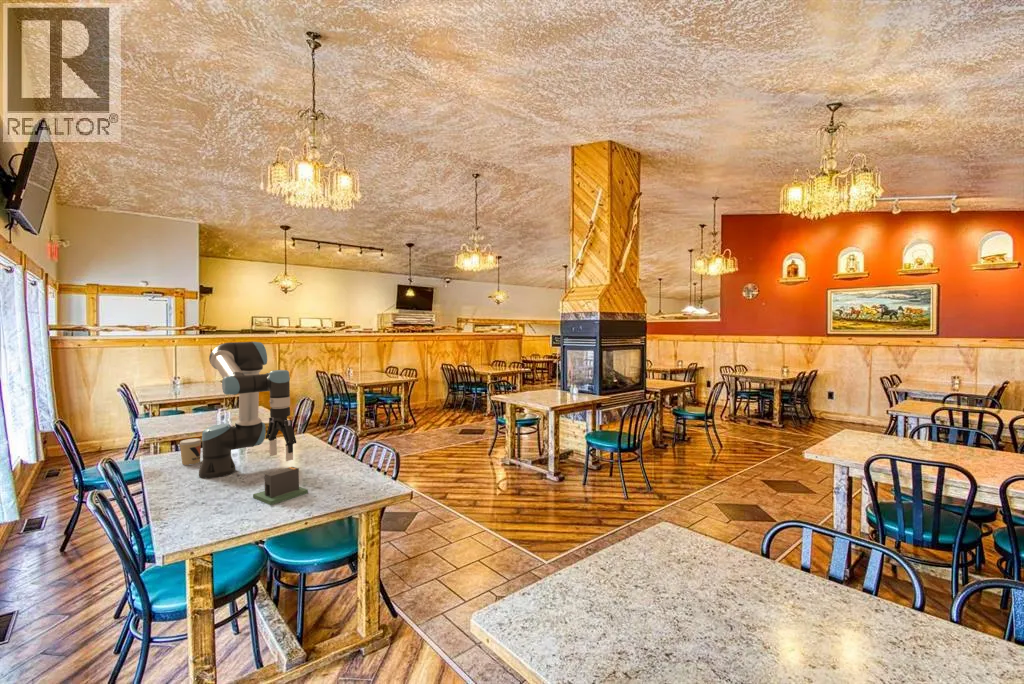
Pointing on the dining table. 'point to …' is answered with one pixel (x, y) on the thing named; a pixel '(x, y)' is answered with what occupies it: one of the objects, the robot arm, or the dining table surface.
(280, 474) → the plug housing
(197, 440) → the coffee cup
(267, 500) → the header board
